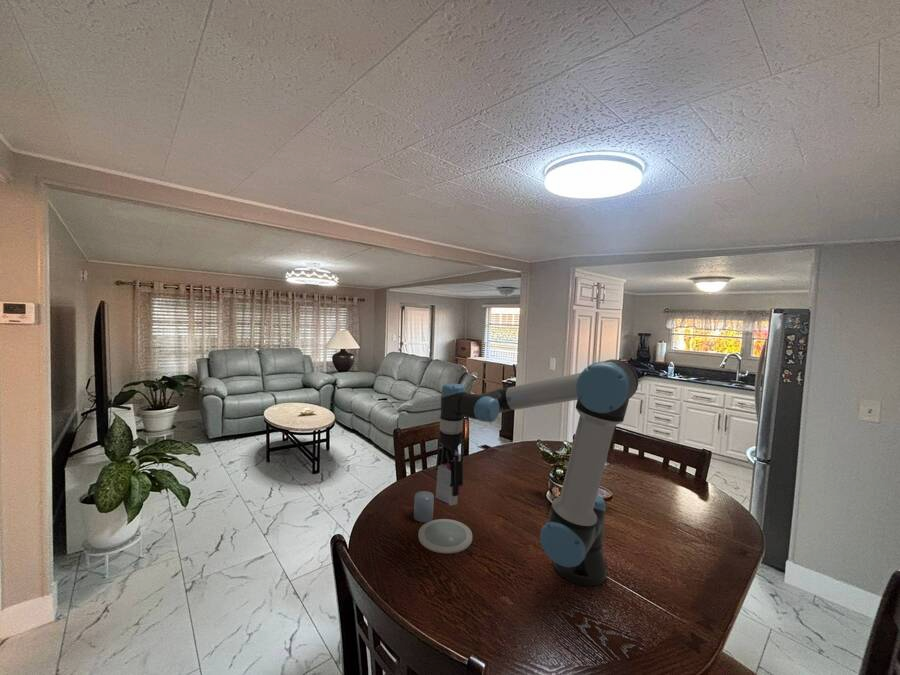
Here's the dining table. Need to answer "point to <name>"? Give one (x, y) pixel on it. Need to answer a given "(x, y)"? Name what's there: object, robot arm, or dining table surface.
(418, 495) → the cylinder block
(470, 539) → the dish
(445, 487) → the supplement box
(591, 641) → the dining table surface
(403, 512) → the dining table surface
